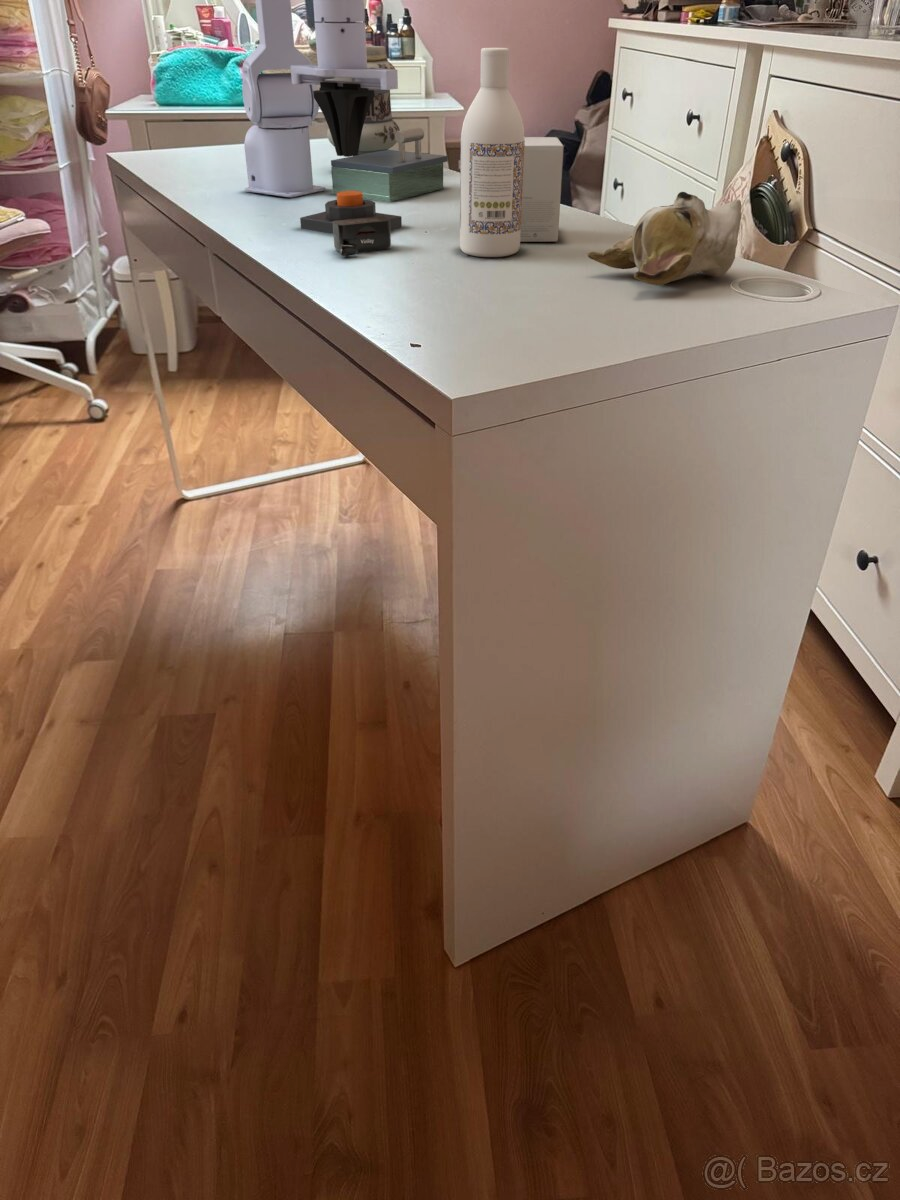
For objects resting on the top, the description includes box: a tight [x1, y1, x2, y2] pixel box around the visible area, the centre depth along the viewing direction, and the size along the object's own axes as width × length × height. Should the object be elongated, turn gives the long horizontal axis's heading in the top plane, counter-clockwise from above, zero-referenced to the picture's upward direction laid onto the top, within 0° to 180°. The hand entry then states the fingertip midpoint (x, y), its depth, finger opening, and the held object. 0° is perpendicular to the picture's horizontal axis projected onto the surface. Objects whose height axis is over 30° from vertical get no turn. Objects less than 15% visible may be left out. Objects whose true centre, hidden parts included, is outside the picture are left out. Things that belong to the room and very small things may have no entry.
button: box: [336, 191, 364, 206], centre depth 112 cm, size 3×3×2 cm
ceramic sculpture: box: [586, 191, 742, 286], centre depth 91 cm, size 11×9×15 cm
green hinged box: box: [330, 162, 444, 203], centre depth 134 cm, size 11×14×4 cm
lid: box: [330, 127, 449, 173], centre depth 131 cm, size 11×14×5 cm
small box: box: [520, 136, 564, 243], centre depth 107 cm, size 8×6×10 cm
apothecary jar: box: [325, 45, 401, 156], centre depth 146 cm, size 12×12×18 cm
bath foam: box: [459, 47, 526, 258], centre depth 98 cm, size 7×7×20 cm
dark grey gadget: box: [332, 216, 392, 258], centre depth 102 cm, size 5×7×3 cm, turn 118°
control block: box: [299, 198, 403, 235], centre depth 113 cm, size 10×8×3 cm
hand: (347, 155), depth 109 cm, fingers closed
